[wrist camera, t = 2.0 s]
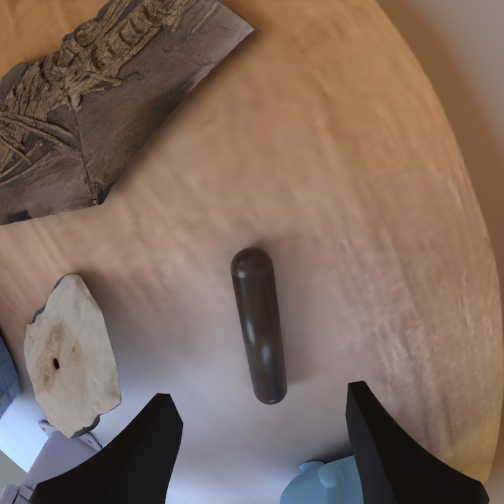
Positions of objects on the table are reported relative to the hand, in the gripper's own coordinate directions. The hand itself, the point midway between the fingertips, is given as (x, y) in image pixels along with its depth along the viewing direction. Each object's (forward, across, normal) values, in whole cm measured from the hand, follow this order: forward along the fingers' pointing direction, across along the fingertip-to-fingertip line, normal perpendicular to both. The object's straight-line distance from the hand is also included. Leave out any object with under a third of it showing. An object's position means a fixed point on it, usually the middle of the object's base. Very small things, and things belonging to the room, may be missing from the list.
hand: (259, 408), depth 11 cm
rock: (+6, +13, +1) cm, 14 cm away
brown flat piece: (+6, +11, -13) cm, 18 cm away
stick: (+6, 0, 0) cm, 6 cm away
